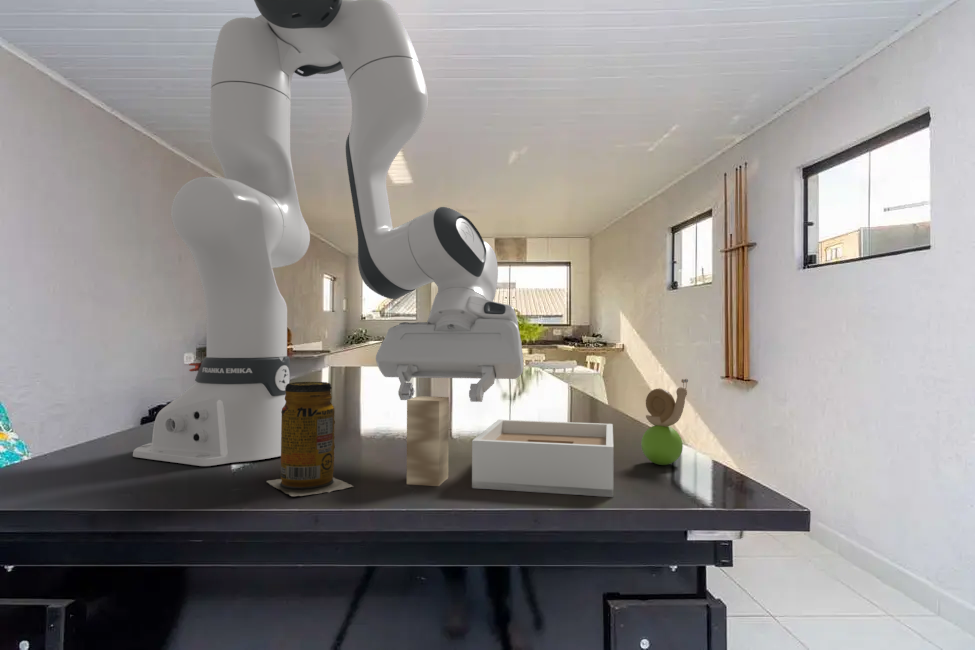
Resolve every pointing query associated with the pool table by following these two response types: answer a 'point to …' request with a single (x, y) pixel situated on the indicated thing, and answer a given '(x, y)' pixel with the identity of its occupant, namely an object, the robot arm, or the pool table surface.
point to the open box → (544, 457)
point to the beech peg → (427, 440)
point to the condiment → (307, 441)
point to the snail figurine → (663, 426)
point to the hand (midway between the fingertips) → (439, 398)
